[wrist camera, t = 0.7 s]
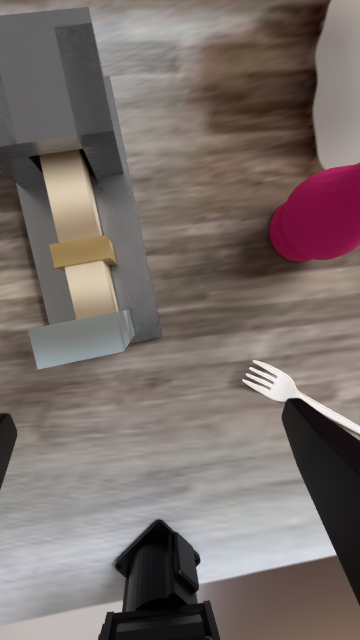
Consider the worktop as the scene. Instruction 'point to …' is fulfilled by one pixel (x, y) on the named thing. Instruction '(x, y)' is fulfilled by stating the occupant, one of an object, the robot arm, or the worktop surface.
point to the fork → (292, 393)
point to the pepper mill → (320, 216)
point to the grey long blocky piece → (64, 135)
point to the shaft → (80, 270)
